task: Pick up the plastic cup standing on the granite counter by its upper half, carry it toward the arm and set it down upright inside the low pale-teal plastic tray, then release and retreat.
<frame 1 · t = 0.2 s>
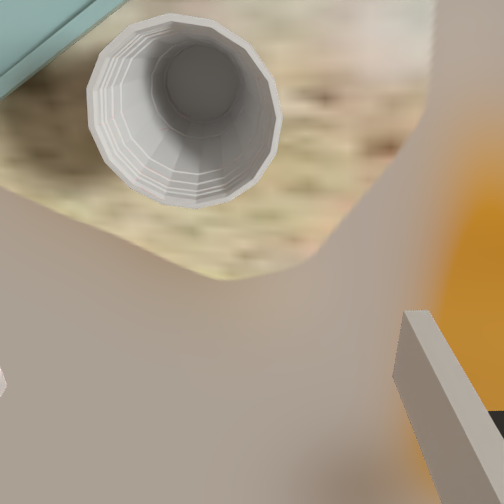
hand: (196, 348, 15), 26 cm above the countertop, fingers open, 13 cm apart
plastic cup: (201, 85, 36), on the countertop
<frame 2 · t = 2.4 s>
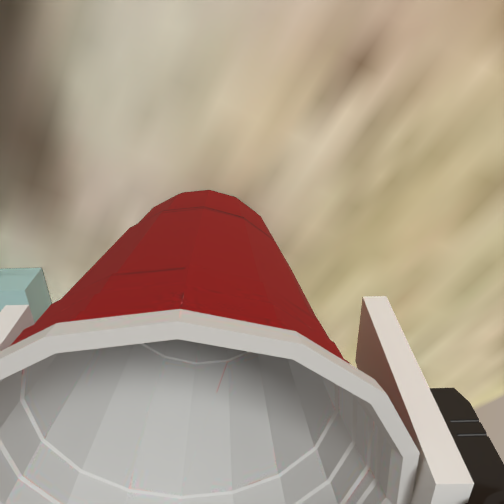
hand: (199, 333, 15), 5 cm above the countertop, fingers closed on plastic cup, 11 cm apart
plastic cup: (209, 251, 20), on the countertop, touching gripper
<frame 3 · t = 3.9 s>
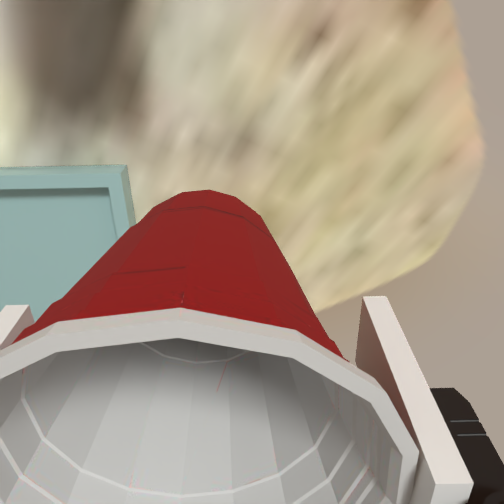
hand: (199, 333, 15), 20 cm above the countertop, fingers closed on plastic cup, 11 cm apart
tray: (38, 268, 37), on the countertop
plastic cup: (209, 251, 20), point 14 cm above the countertop, touching gripper
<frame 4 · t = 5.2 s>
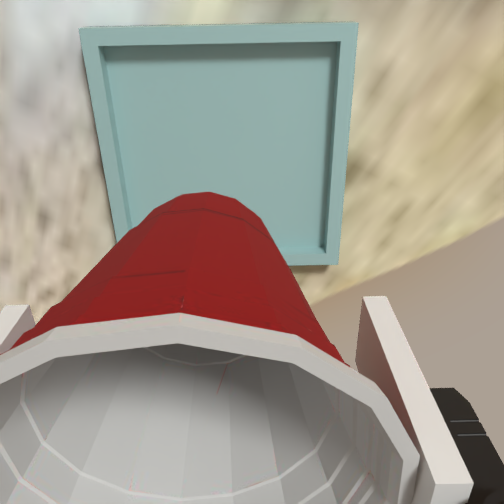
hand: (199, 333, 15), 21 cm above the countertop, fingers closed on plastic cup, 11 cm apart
tray: (225, 153, 34), on the countertop
plastic cup: (209, 252, 20), point 15 cm above the countertop, touching gripper
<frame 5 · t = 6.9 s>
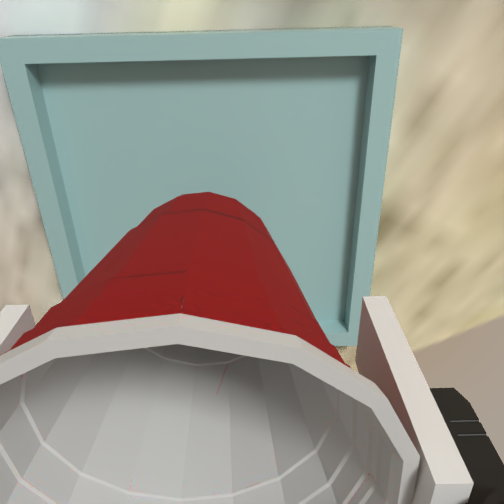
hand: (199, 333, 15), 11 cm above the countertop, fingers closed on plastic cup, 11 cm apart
tray: (213, 205, 25), on the countertop
plastic cup: (209, 253, 20), point 5 cm above the countertop, touching gripper
when the fingers open (7 cm above the countertop, at t = 8.2 s): plastic cup drops 1 cm, resting on tray.
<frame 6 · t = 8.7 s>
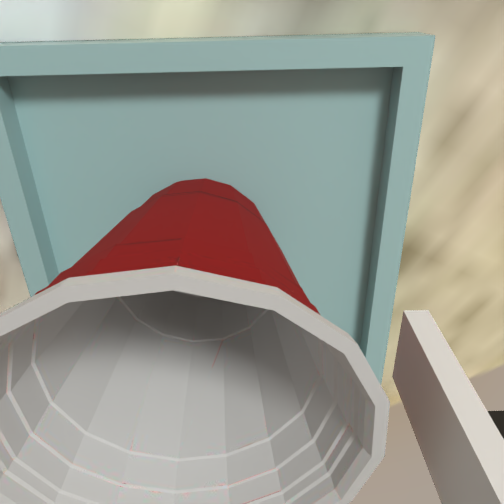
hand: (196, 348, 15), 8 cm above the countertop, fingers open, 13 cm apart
tray: (212, 233, 22), on the countertop
plastic cup: (206, 237, 22), resting on tray
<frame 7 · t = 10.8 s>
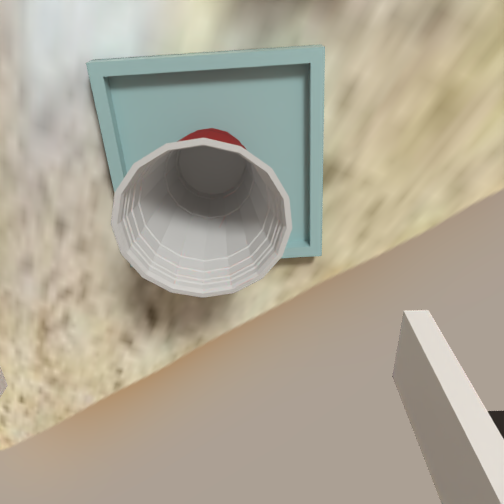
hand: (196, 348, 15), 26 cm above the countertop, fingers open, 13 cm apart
tray: (217, 162, 38), on the countertop
plastic cup: (214, 164, 38), resting on tray
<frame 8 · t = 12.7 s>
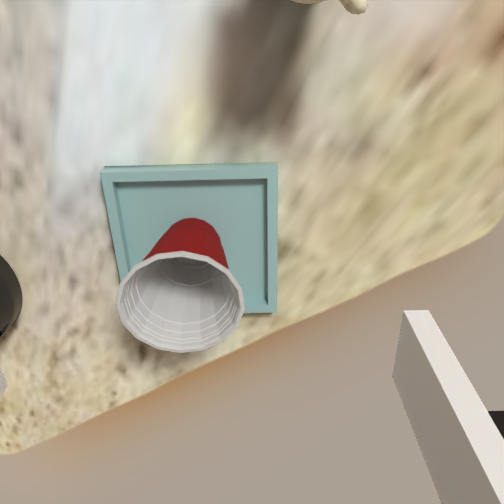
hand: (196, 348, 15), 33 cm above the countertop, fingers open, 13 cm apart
tray: (197, 240, 50), on the countertop
plastic cup: (194, 242, 49), resting on tray
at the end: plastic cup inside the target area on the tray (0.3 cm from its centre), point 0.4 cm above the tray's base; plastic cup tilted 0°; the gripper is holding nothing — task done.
